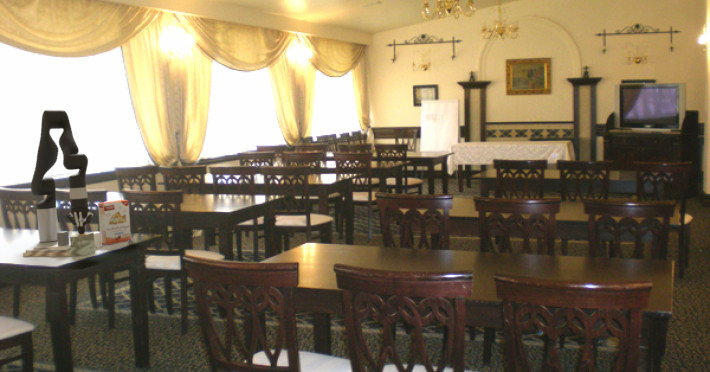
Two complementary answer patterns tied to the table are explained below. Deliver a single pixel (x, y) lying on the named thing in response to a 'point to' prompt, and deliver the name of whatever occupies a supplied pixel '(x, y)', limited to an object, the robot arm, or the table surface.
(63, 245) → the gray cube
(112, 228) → the cracker box
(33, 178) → the robot arm
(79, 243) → the rail track
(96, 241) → the white cube
